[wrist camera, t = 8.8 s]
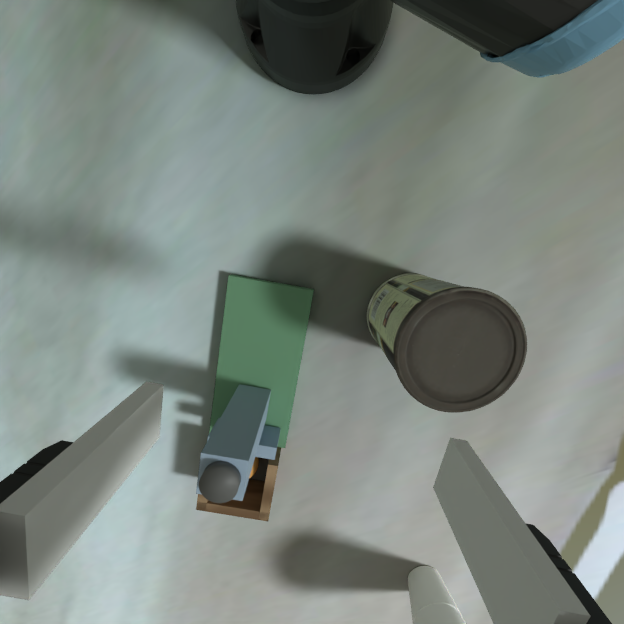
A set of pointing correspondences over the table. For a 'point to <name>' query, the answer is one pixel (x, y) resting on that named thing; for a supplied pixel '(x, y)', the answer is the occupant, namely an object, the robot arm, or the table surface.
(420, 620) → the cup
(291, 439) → the table surface
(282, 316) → the plate
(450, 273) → the table surface
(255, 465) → the ball
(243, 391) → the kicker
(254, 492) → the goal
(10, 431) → the table surface
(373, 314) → the coffee can
